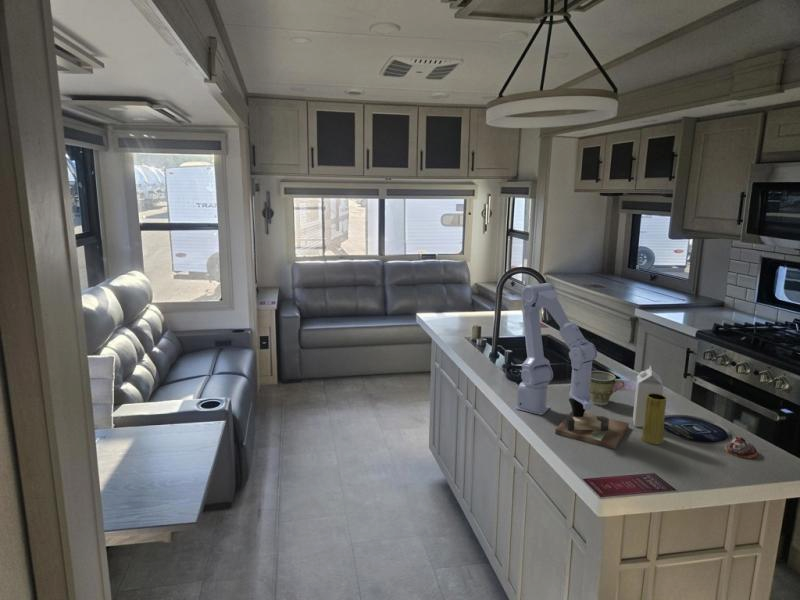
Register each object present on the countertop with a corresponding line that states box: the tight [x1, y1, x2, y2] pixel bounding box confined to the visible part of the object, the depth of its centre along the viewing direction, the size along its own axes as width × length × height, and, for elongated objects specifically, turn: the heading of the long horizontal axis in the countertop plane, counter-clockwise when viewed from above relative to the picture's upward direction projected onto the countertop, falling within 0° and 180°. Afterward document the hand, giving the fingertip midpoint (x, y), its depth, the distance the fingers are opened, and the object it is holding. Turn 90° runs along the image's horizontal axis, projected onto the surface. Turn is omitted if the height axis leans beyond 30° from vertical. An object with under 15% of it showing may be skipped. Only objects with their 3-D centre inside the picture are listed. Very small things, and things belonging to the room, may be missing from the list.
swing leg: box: [565, 415, 610, 431], centre depth 171 cm, size 13×4×3 cm, turn 88°
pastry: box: [724, 435, 759, 460], centre depth 159 cm, size 8×8×5 cm
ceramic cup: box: [590, 370, 625, 406], centre depth 194 cm, size 13×10×10 cm
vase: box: [641, 393, 667, 445], centre depth 166 cm, size 6×6×14 cm
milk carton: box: [632, 365, 664, 428], centre depth 176 cm, size 7×7×19 cm
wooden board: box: [554, 410, 630, 450], centre depth 173 cm, size 18×18×2 cm
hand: (577, 421), depth 174 cm, fingers closed
